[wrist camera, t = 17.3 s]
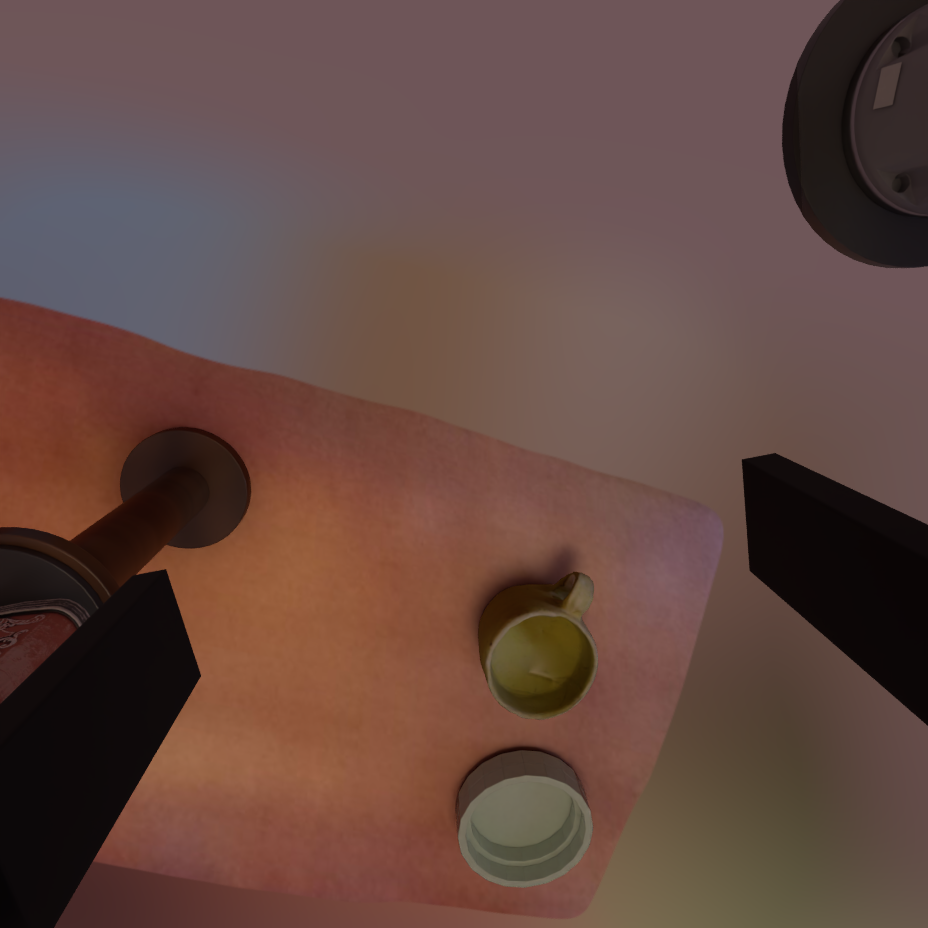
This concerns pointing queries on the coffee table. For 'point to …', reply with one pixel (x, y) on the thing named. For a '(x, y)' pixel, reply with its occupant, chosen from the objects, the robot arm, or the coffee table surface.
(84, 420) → the coffee table surface
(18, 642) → the lighter
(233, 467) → the stand
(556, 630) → the mug
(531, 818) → the bowl
